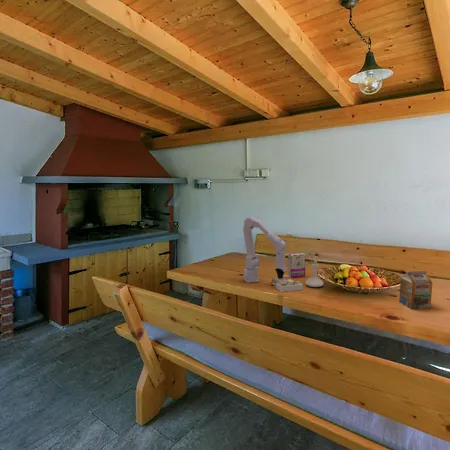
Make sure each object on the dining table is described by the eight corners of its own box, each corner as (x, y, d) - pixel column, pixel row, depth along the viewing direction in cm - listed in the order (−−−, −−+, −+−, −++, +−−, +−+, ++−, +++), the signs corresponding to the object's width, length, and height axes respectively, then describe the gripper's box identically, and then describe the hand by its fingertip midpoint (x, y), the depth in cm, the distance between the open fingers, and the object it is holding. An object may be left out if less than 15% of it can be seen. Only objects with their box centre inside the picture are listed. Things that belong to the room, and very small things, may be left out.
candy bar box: (302, 275, 233) (302, 252, 230) (305, 277, 228) (305, 254, 226) (287, 276, 230) (288, 253, 228) (290, 278, 225) (291, 255, 223)
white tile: (280, 284, 203) (280, 281, 203) (277, 281, 208) (277, 278, 207) (286, 283, 204) (286, 280, 204) (283, 281, 209) (284, 278, 208)
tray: (281, 292, 197) (281, 286, 197) (276, 288, 205) (276, 282, 204) (302, 289, 201) (302, 284, 200) (297, 286, 208) (297, 280, 208)
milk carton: (417, 301, 179) (420, 268, 176) (430, 308, 168) (433, 273, 166) (399, 301, 179) (401, 268, 176) (410, 309, 168) (413, 274, 166)
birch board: (277, 287, 206) (277, 283, 205) (271, 283, 215) (271, 278, 215) (294, 286, 208) (295, 281, 208) (288, 281, 218) (288, 277, 218)
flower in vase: (316, 282, 216) (317, 245, 212) (327, 287, 205) (328, 248, 202) (299, 284, 211) (300, 247, 208) (310, 289, 201) (311, 250, 197)
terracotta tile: (283, 279, 212) (283, 276, 211) (281, 277, 216) (281, 275, 216) (290, 279, 213) (290, 276, 213) (287, 277, 217) (287, 274, 217)
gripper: (291, 261, 201) (290, 282, 203) (281, 256, 215) (281, 276, 217) (280, 262, 200) (280, 283, 201) (271, 257, 214) (271, 277, 215)
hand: (280, 279), depth 209 cm, fingers closed
